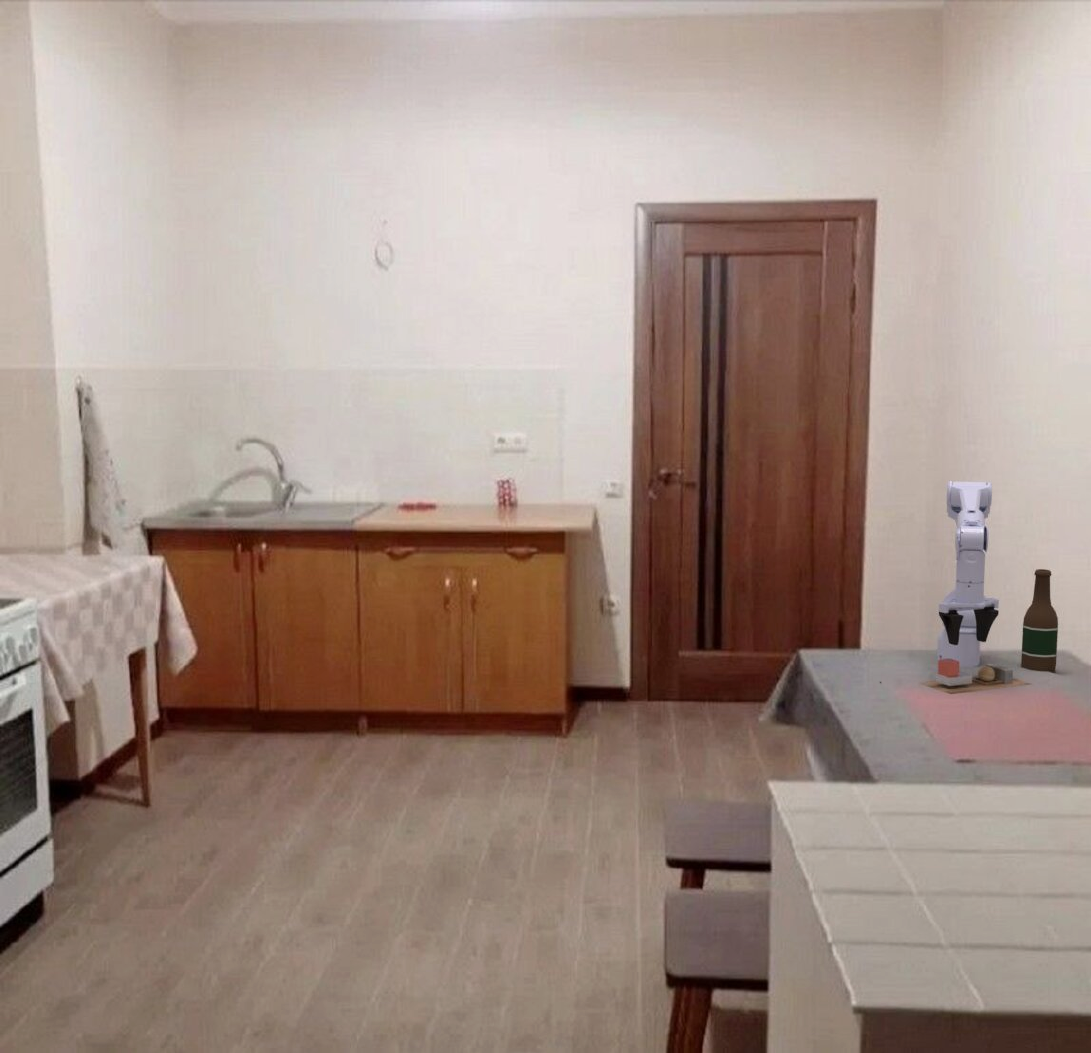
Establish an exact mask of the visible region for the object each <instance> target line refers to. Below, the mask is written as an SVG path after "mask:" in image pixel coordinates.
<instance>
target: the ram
mask: <svg viewBox="0 0 1091 1053" xmlns="http://www.w3.org/2000/svg"><path fill="white" fill-rule="evenodd" d="M937 662H938V663H937V672H935V680H934V681H936V682H939V683H942V684H945V685H948V686H955V685H963V684H971V683H972V676H973V675H972V674H969V673H966V672H963V671H960V666H959V661H957V660H953V659H950V658H948V659H939V660H938V661H937Z"/></svg>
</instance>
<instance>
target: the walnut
mask: <svg viewBox="0 0 1091 1053" xmlns="http://www.w3.org/2000/svg"><path fill="white" fill-rule="evenodd" d="M977 676H978V677H979V678H980V680H982V681H983V682H991V681H992V680H993V679H994V677H995V672H994V670H993V669H992V668H991V667H988V666H986V665H985V666H982V667H980V668H979V670H978V672H977Z"/></svg>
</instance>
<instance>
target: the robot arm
mask: <svg viewBox="0 0 1091 1053" xmlns="http://www.w3.org/2000/svg"><path fill="white" fill-rule="evenodd" d="M992 497H993V484H992V483H991V481H988V480H987V481H961V480H960V481H959V480H958V481H957V480H956V481H954V480H953V481H952V480H949V481H948V482H947V485H946V513H947V517H949V518H950V519H952V520H954V521H955V523H956V528H955V535H954V536H955V537H954V538H955V540H954V548H955V560H956V566H955V568H956V569H955V588H954V589H952V590H951V591H949V592H947V593H946V594H945V596H944V597H943V602H939V603H938V616H939V618H940V619H941V621H942V626H943V629H941V631H940V632H939V634H938V637H937V647H936V648H937V651H936V652H937V653H936V654H937V655H936V662H938V660H939V659H948V658H950V659H953V660H957V661H959V667H965V668H967V667H978V666H980V663H981V662H980V661H981V660H980V659H981V658H980V656H981V655H980V654H981V643H986V642H987V640H988V635H989V633H990V630H991V628H992V626H993V624H994V622H995V620H996V619H997V617H998V616H999V607H1000V606H999V603H1000V602H999V601H1000V600H999V599H997V598H995V597H994V598H993V597H992V598H989V597H986V596H985V595H984V591H985V590H984V589H985V571H986V570H985V565H986V564H985V563H986V553H987V551H988V548H989V530H988V529H989V528H988V526H987V525H986V520H985V519H987V518H989V514H990V511H991V506H992V500H993V499H992Z"/></svg>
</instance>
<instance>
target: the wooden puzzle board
mask: <svg viewBox="0 0 1091 1053" xmlns="http://www.w3.org/2000/svg"><path fill="white" fill-rule="evenodd" d="M985 666H988V667H991V668H992V669H993V670H994V672H995V677H994V679H993V680H992V681H991V682H983V681H982V680H980V678H979V677H978V675H972V683H971V684H963V685H955V686H948V685H945V684H942V683H939V682H936V681H935V680H931V681H924V682H923V681H922V682H919V684H921V685H924V686H926V687H930V688H933V689H935V690H938V691H940V692H943V693H946V694H950V695H955V694H962V693H972V692H978V691H988V690H995V689H996V690H997V689H1002V688H1013V687H1020V686H1027V685H1031V682H1027V681H1024V680H1020V679H1018V678H1013V675H1014V674H1013V673H1014V672H1013V671H1014V669H1012V668H1008V667H1005V666H1002V665H1001V666H1000V665H998V664H994V663H989V664H985Z"/></svg>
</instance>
